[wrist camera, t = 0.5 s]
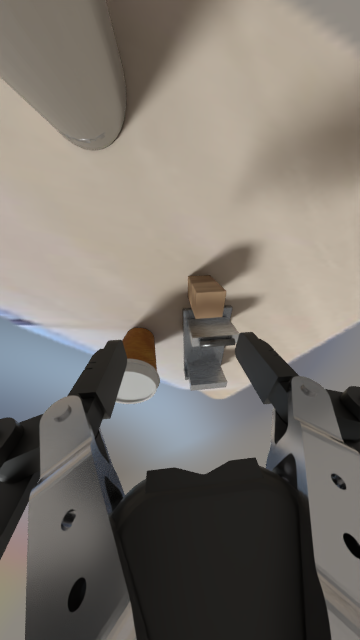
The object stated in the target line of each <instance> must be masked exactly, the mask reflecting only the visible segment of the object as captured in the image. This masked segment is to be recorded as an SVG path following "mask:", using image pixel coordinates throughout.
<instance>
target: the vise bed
mask: <svg viewBox="0 0 360 640" xmlns="http://www.w3.org/2000/svg"><path fill="white" fill-rule="evenodd" d="M231 312H232V307H231V306H224V309H223V316H222V317H228V318H229V320H230V317H231ZM188 319H195V316H194V313H193V310H192V308H190V309H183V336H184V373H185V380H188V379H189V383H190V389H191V391H192V390H202V389H212V388H222V387H226V385H227V380H226V378H225V376H224V373H223V371H222V368H221V362H222V357H223V352H224V347H225V346H216V347H204V348H200V347H199V346H195V347H192V344H191V340H190V336H189V331H188Z"/></svg>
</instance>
